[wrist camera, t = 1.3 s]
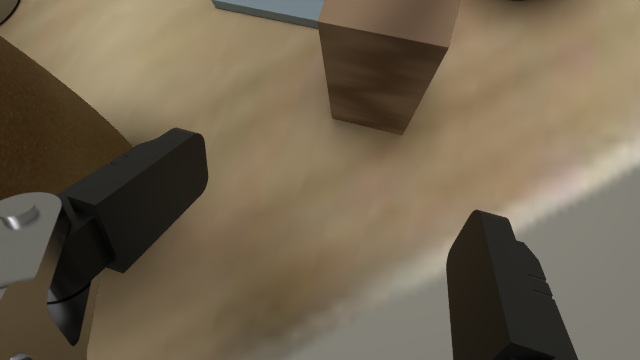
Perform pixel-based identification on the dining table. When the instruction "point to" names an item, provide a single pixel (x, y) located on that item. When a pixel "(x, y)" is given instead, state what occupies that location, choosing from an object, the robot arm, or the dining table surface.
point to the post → (382, 56)
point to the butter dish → (277, 9)
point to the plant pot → (47, 130)
